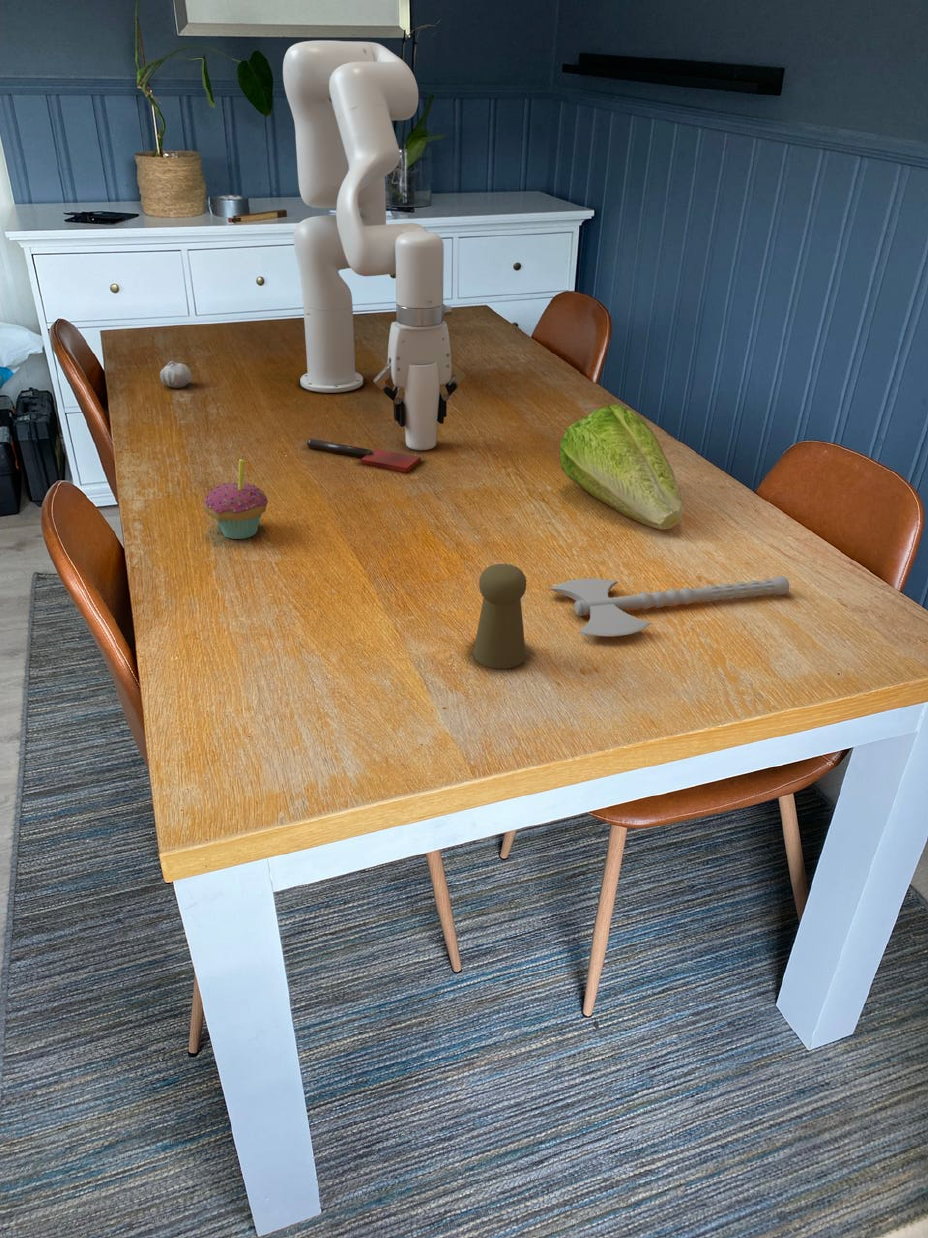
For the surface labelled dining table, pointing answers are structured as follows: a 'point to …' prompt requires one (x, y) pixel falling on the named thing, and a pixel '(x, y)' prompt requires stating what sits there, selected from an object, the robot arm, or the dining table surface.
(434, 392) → the drinking glass
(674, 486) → the lettuce
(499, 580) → the chess pawn
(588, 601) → the axe
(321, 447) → the spatula
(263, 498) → the cupcake
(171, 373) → the garlic
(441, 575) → the dining table surface
